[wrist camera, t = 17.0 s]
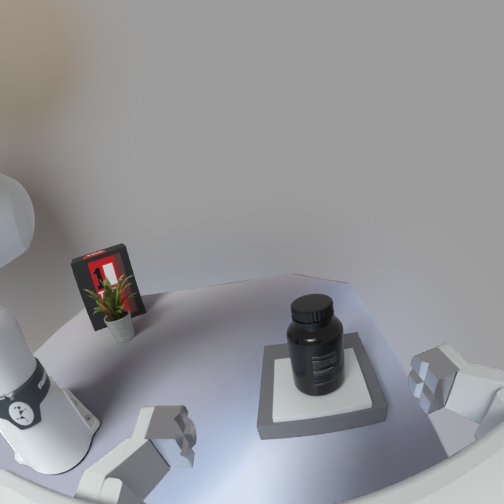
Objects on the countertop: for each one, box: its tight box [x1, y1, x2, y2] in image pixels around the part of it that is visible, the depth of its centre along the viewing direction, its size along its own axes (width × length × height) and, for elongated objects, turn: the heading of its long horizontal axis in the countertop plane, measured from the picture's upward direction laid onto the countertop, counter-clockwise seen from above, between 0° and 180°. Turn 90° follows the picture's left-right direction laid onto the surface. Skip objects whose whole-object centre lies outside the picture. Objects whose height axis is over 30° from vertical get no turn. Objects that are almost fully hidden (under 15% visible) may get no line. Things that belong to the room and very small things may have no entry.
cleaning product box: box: [71, 244, 146, 331], centre depth 73 cm, size 16×9×20 cm, turn 124°
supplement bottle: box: [287, 294, 345, 396], centre depth 32 cm, size 7×7×12 cm
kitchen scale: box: [257, 332, 388, 440], centre depth 37 cm, size 16×18×4 cm
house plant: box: [83, 274, 135, 343], centre depth 61 cm, size 14×14×16 cm
